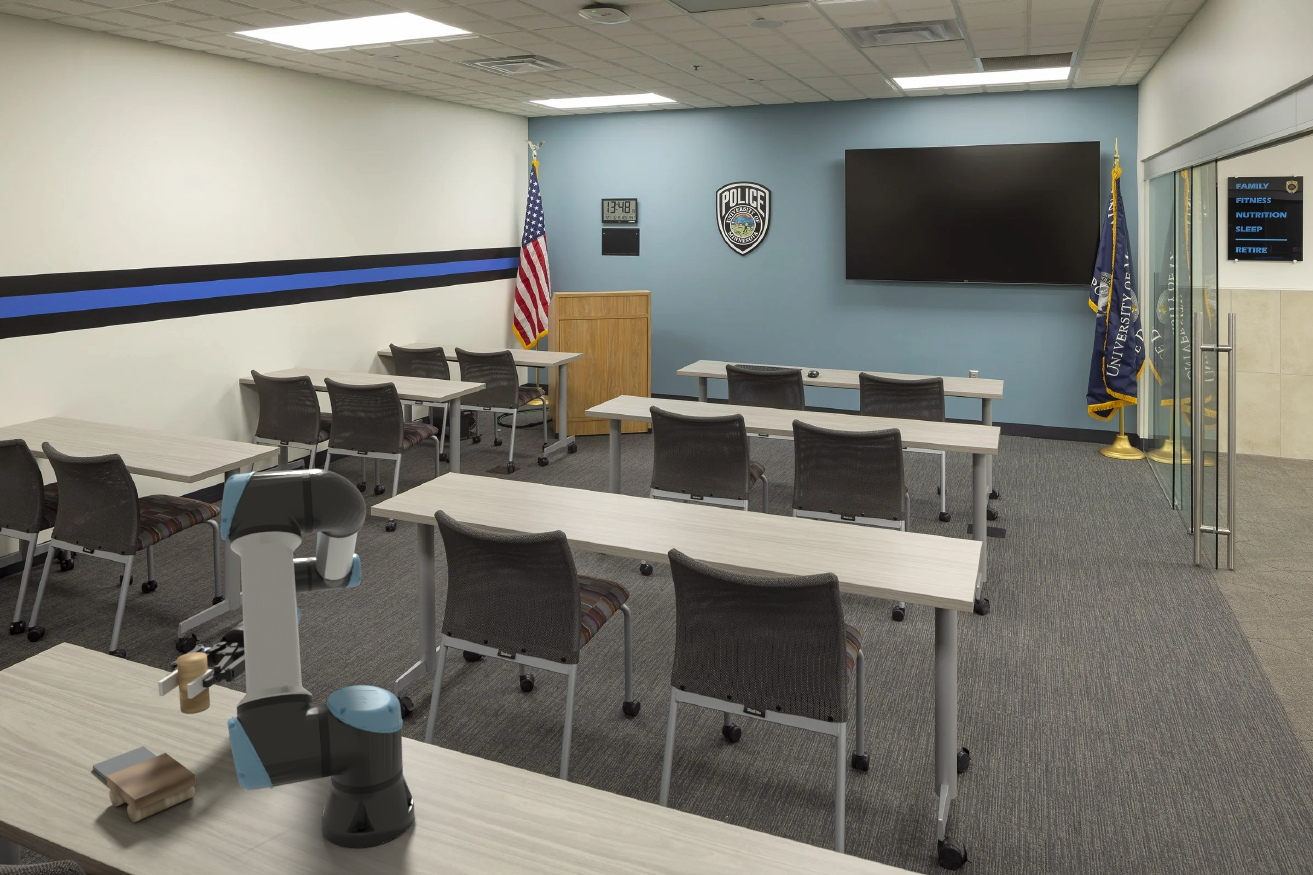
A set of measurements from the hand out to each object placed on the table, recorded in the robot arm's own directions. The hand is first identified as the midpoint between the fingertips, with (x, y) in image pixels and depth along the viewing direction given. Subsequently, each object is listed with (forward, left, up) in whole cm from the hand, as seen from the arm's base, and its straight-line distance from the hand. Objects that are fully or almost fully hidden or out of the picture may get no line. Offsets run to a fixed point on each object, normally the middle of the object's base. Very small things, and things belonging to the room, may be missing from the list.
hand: (175, 690), depth 168 cm
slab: (-5, +8, -16) cm, 19 cm away
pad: (+9, +5, -16) cm, 19 cm away
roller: (+3, -5, -6) cm, 8 cm away
